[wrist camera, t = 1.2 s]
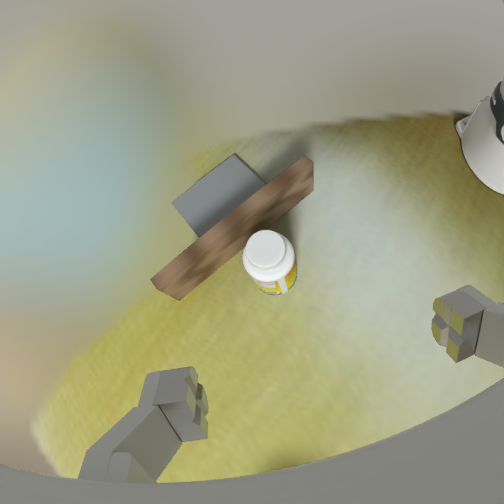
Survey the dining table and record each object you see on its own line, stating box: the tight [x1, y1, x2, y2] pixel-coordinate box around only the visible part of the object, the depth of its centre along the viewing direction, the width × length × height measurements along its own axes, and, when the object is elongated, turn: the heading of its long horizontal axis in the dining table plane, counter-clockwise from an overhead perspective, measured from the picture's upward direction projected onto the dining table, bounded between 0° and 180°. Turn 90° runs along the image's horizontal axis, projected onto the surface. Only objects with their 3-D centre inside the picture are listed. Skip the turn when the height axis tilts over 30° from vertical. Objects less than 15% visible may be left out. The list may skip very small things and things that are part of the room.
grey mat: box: [172, 155, 266, 238], centre depth 45 cm, size 12×9×1 cm
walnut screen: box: [150, 155, 313, 301], centre depth 40 cm, size 24×2×7 cm, turn 129°
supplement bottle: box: [243, 230, 297, 295], centre depth 36 cm, size 6×6×10 cm
